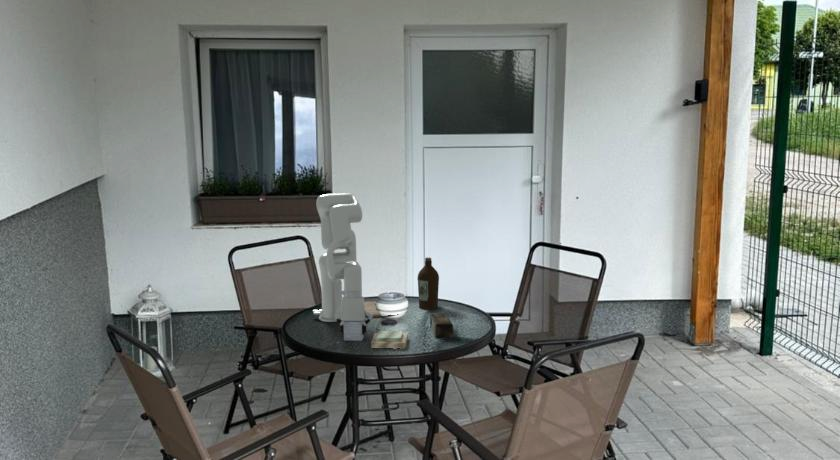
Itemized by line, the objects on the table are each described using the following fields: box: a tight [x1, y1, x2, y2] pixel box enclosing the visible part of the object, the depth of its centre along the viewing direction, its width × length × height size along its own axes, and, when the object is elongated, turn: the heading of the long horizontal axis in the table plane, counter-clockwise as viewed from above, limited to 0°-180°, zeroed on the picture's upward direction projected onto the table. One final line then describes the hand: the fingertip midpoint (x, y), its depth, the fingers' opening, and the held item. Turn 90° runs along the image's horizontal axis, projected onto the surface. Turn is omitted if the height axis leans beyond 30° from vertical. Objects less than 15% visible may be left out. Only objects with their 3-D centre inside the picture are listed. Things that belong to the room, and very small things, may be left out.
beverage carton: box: [429, 312, 454, 338], centre depth 324 cm, size 8×19×7 cm, turn 6°
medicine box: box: [343, 321, 365, 342], centre depth 313 cm, size 8×4×9 cm, turn 84°
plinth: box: [370, 330, 409, 350], centre depth 307 cm, size 14×14×4 cm
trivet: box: [364, 300, 382, 318], centre depth 360 cm, size 25×25×2 cm
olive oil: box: [417, 257, 440, 310], centre depth 365 cm, size 11×11×25 cm
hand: (353, 333), depth 313 cm, fingers closed on medicine box, 8 cm apart
